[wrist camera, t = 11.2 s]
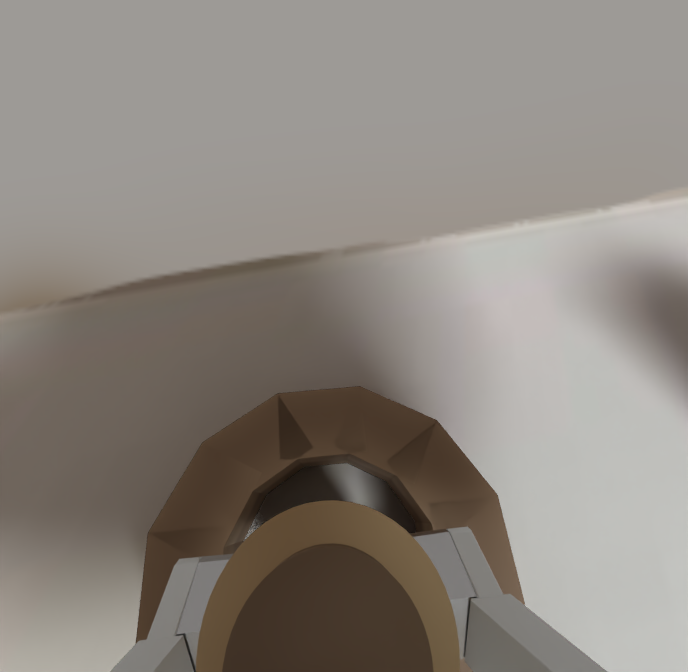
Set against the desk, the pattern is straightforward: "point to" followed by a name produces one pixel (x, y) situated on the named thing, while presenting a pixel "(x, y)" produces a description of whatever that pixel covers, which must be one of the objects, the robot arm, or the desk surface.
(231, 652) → the wooden peg
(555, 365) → the desk surface
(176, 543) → the brown faceted ring
